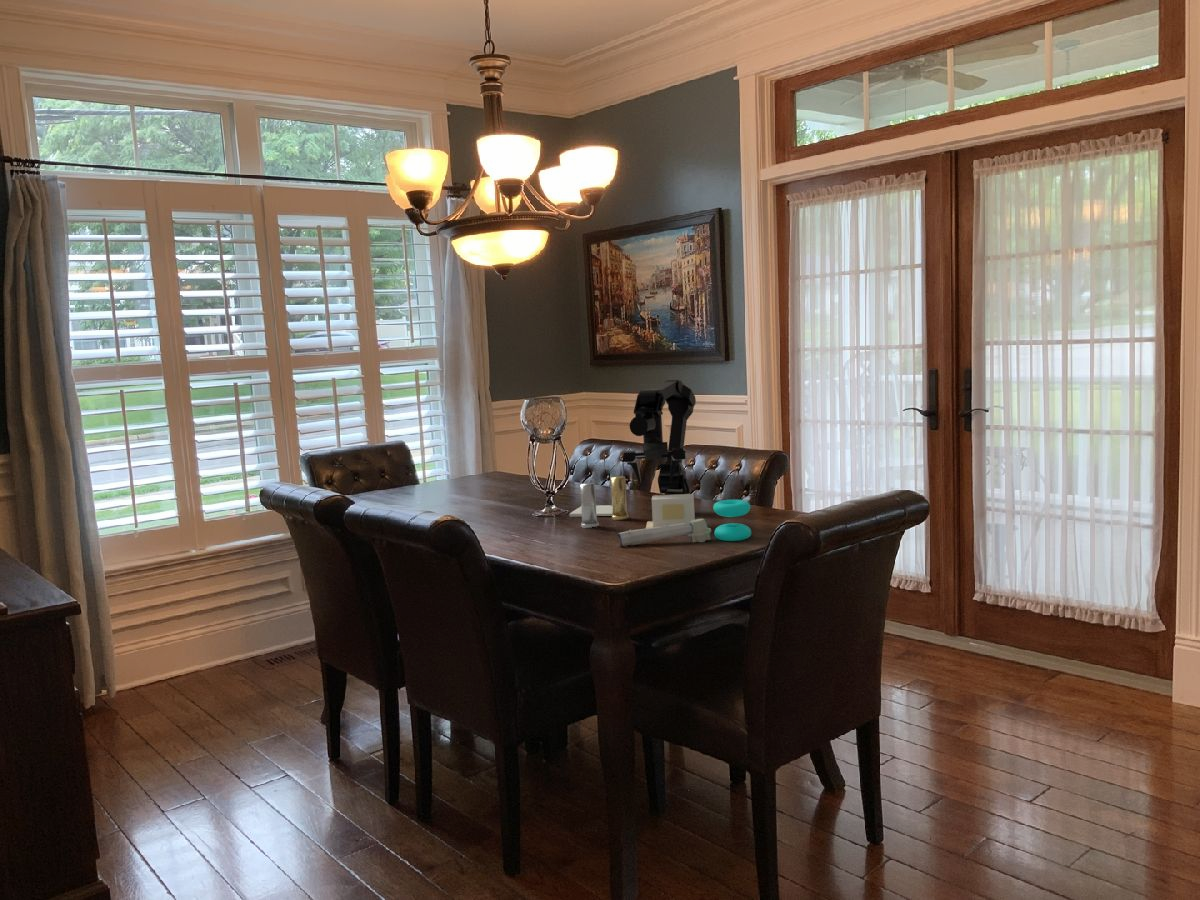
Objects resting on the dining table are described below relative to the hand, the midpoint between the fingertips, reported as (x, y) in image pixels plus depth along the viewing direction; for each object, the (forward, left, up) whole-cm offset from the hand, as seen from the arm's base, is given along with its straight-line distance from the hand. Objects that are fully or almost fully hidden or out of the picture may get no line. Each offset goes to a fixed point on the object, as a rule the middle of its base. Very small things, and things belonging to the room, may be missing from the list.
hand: (655, 483), depth 286 cm
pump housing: (-10, +4, -12) cm, 16 cm away
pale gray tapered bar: (-21, +20, -12) cm, 31 cm away
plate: (+28, -2, -12) cm, 30 cm away
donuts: (-33, +5, -12) cm, 35 cm away
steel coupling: (+13, +15, -12) cm, 23 cm away
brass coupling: (+14, +2, -12) cm, 18 cm away
